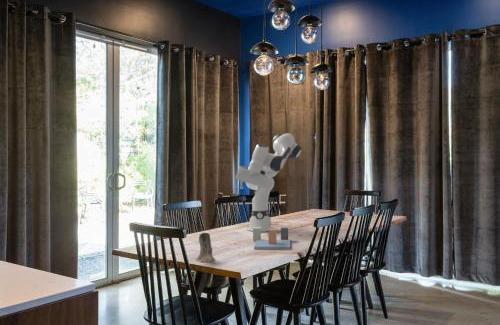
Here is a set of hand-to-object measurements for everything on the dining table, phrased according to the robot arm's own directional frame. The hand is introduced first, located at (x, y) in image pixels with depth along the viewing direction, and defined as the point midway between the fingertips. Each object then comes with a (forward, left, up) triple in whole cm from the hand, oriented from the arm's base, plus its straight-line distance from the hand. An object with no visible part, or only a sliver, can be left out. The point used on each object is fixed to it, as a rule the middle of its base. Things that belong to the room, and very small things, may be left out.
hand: (248, 191), depth 271 cm
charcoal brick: (-1, +22, -31) cm, 38 cm away
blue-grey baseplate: (+14, +15, -31) cm, 37 cm away
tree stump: (+49, -18, -31) cm, 61 cm away
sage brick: (-1, +5, -31) cm, 31 cm away
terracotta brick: (+14, +15, -29) cm, 36 cm away
